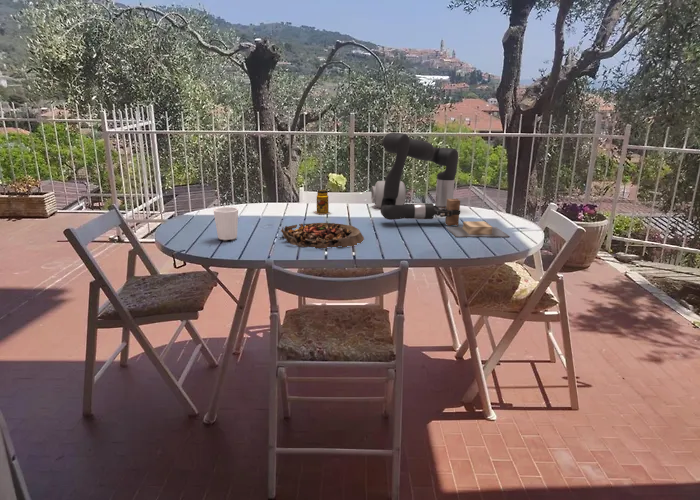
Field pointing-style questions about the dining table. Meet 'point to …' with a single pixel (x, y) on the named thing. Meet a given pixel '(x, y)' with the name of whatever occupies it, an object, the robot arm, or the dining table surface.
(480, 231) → the plinth
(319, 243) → the food dish
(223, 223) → the cup
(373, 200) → the jar
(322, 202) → the condiment
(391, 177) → the robot arm
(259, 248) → the dining table surface
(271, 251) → the dining table surface
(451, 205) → the pillar
